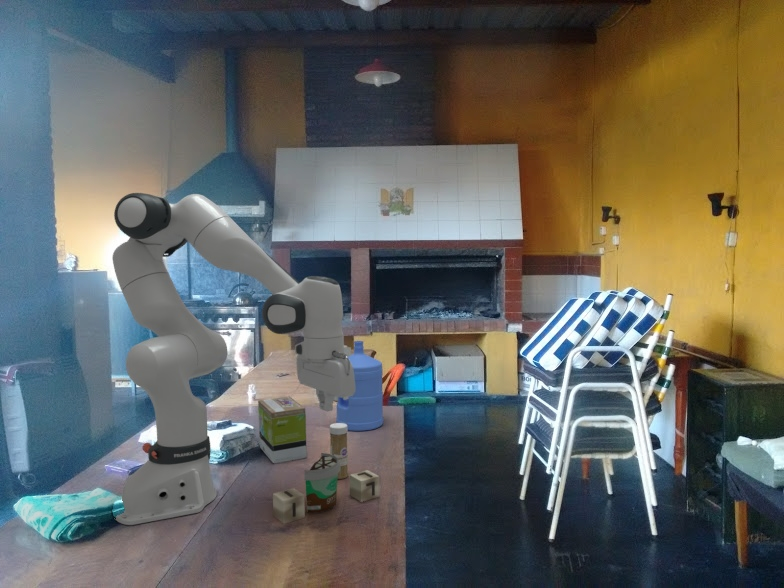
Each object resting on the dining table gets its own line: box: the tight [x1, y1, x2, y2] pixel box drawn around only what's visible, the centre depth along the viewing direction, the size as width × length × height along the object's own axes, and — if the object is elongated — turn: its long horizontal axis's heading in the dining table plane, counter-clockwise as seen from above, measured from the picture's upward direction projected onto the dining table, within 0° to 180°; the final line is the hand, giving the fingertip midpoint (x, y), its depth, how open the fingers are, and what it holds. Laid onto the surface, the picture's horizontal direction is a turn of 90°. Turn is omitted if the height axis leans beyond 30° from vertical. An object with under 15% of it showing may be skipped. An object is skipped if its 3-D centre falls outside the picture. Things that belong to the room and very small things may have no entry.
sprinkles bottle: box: [329, 422, 349, 480], centre depth 148 cm, size 5×5×14 cm
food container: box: [303, 452, 341, 514], centre depth 131 cm, size 12×6×10 cm, turn 168°
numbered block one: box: [272, 487, 306, 525], centre depth 126 cm, size 5×5×5 cm
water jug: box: [335, 340, 384, 432], centre depth 193 cm, size 16×16×28 cm
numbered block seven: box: [349, 469, 380, 503], centre depth 136 cm, size 5×5×5 cm
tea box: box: [257, 395, 308, 464], centre depth 166 cm, size 15×10×15 cm, turn 27°
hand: (326, 409), depth 130 cm, fingers closed
